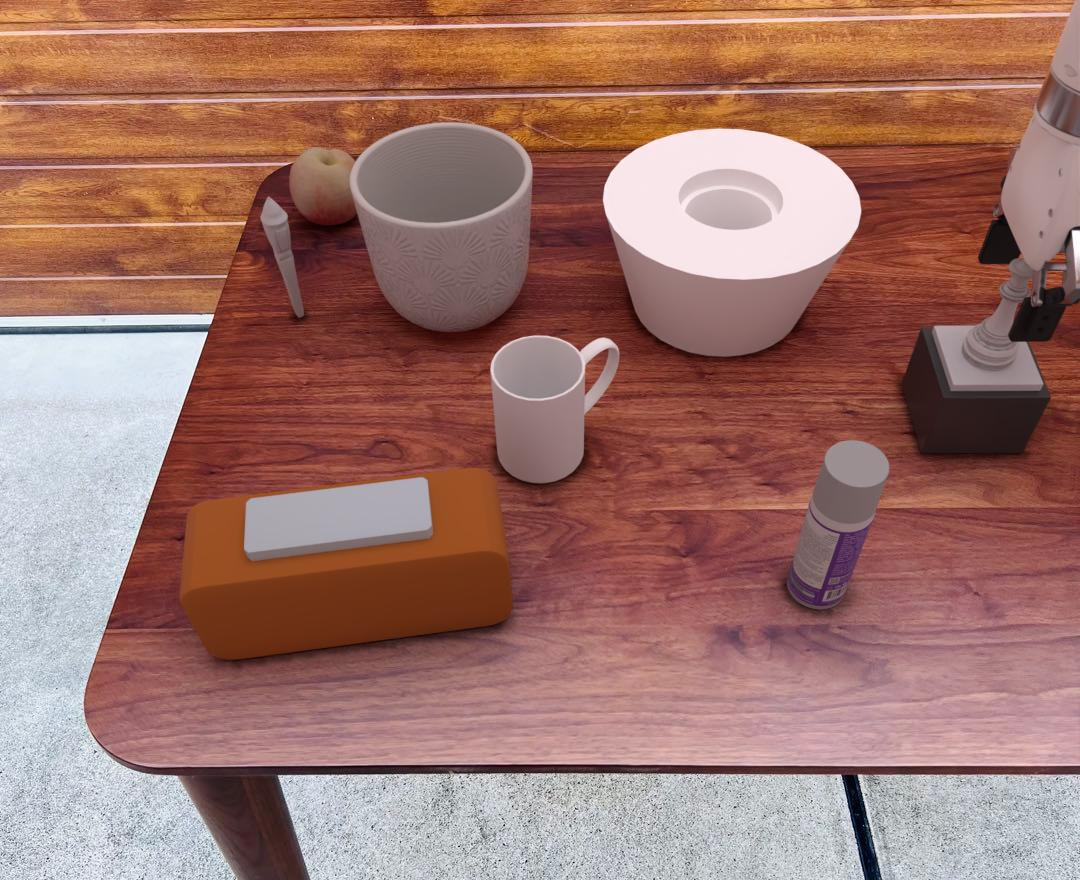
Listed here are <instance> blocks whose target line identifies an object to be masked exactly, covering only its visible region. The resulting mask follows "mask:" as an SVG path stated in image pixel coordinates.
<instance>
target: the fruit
mask: <svg viewBox="0 0 1080 880" xmlns="http://www.w3.org/2000/svg"><path fill="white" fill-rule="evenodd" d="M355 162H356V160H355V159H354V158H353V157H352V156H351V155H350V154H349V153H347V152H346V151H344V150H342V149H340V148H331V149H327V148H323V147H321V146H312V147H310V148H308V149H306V150H304V151H303V152H302V153H301V154H299V156H298V157H297V158H296V159H294V161H293V163H292V165H291V167H290V171H289V176H288V177H289V178H288V179H289V181H288V182H289V192H290V196H291V199H292V201H293V204H294V206H295V207H296V210H297V211H298V212H299V213H300V214H301V215H302V216H303V217H304V218H305V219H306V220H307V221H309V222H311V223H313V224H316V225H320V226H337V225H342V224H344V223H347V222H349V221H350V220H352V219H353V218H354V217H355V216H356V215H357V211H356V207H355V204H354V200H353V197H352V193H351V189H350V174H351V170H352V168H353V165H354V163H355Z"/></svg>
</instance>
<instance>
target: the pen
mask: <svg viewBox="0 0 1080 880" xmlns="http://www.w3.org/2000/svg"><path fill="white" fill-rule="evenodd" d="M288 218H289V216H288V213H287V212H286V211H285V210H284V209H283V208H282V207H281V206H280V205H279V204H278V203H277V202H276V201H275V200H274V199H273V198H271V197H270V196H267V198H266V200H265V202H264V204H263V207H262V212H261V214H260V217H259V219H260V221H261V224H262V227H263V230H264V233H265V236H266V238H267V240H268V243H269V244H270V246H271V247H272V250H273V251H272V252H273V254H274V258H275V260H276V264H277V265H278V266H277V267H278V269H279V272H280V273H281V276H282V279H283V283H284V285H285V288H286V291H287V294H288V297H289V300H290V303H291V307H292V309H293V311H294V314H295V315H296V317H297V318H298V319H301V318H303V317H304V316H305V310H304V304H303V300H302V295H301V290H300V287H299V281H298V275H297V269H296V264H295V258H294V254H293V251H292V241H291V231H290V224H289V221H288Z"/></svg>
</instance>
